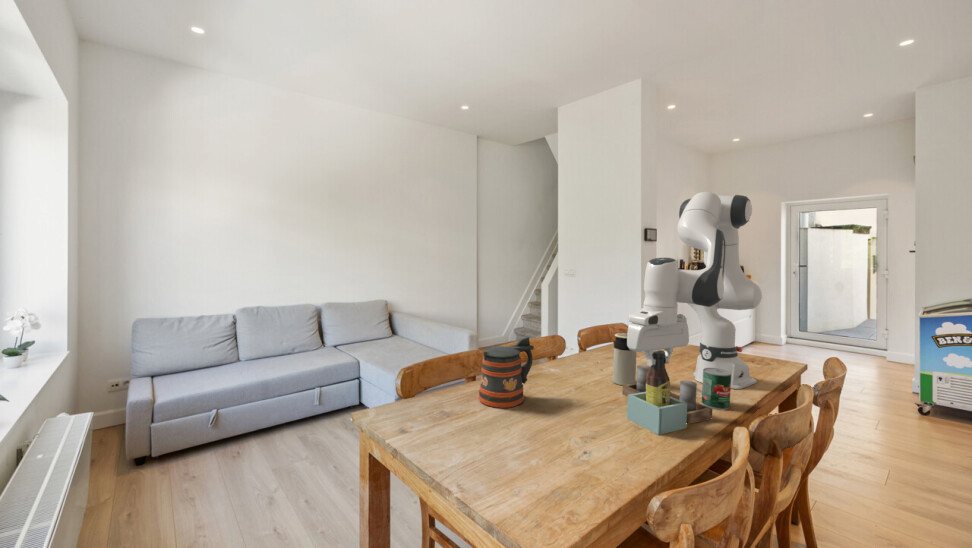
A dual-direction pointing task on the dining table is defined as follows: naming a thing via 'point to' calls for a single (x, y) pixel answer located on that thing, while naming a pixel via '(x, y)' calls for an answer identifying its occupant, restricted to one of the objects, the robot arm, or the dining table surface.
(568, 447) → the dining table surface
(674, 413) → the box
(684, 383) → the rack
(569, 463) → the dining table surface
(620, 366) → the travel mug
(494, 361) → the beer stein
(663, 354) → the sauce bottle
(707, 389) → the canned tomato
